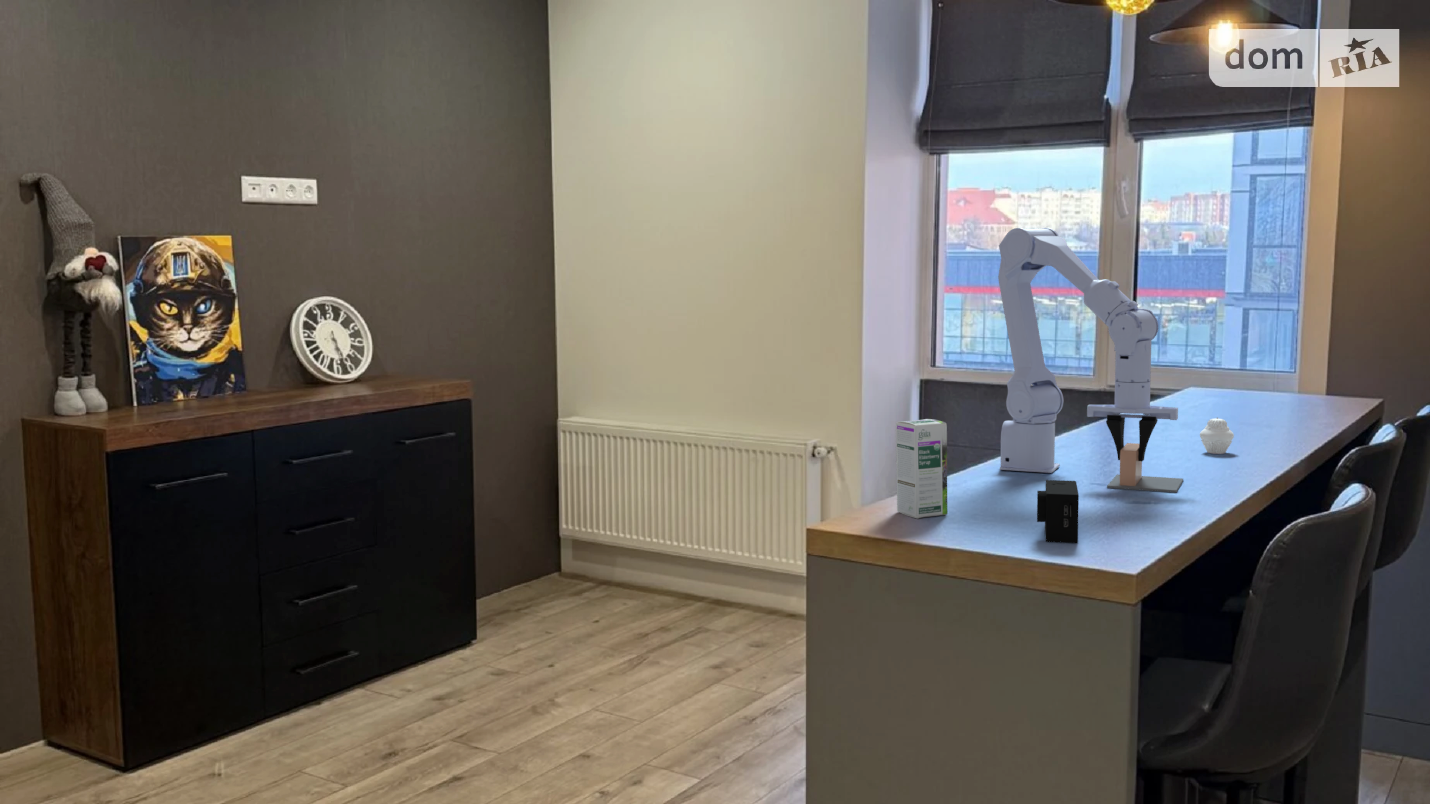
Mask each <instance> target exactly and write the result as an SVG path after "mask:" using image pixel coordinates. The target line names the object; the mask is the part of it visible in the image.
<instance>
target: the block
mask: <svg viewBox="0 0 1430 804" xmlns="http://www.w3.org/2000/svg"><path fill="white" fill-rule="evenodd" d="M1138 453H1139V443H1134V442H1133V443H1131V442H1130V443H1129V442H1127V443H1126V444H1124V447H1123V448H1122V449H1121V451H1120V460H1119V475H1120V485H1126V486H1136V484H1137V483H1138V482H1139V481H1140V479H1141V478H1142V476H1143V475H1142V473H1143V469H1142V468H1143V465H1142V464H1143V461H1138Z"/></svg>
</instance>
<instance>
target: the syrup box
mask: <svg viewBox="0 0 1430 804" xmlns="http://www.w3.org/2000/svg"><path fill="white" fill-rule="evenodd" d="M947 427H948V426H947V423H946V422H945V421H943V420H942V421H941V420H938V419H934V418H933V419H931V418H925V419H918V420H917V419H916V420H905V421H896V422H895V446H896V447H895V448H896V449H895V451H896V453H895V455H896V456H895V458H896V461H895V462H896V505H897V506H896V511H897V512H898V513H900V514H902V515H905V516H907V517H910V518H914V519H922V518H928V517H935V516H936V517H937V516H946V515H948V431H947V430H948V429H947Z"/></svg>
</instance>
